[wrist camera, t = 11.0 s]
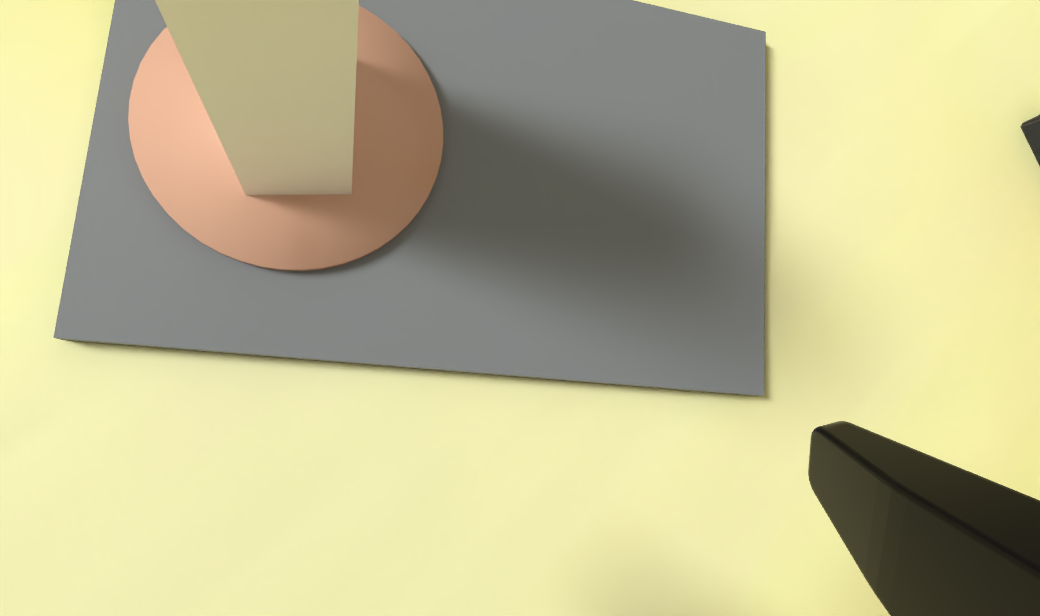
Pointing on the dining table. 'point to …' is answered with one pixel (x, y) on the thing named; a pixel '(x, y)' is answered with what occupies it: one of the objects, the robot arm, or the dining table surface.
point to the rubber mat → (486, 211)
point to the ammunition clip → (1033, 135)
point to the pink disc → (292, 218)
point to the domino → (275, 87)
